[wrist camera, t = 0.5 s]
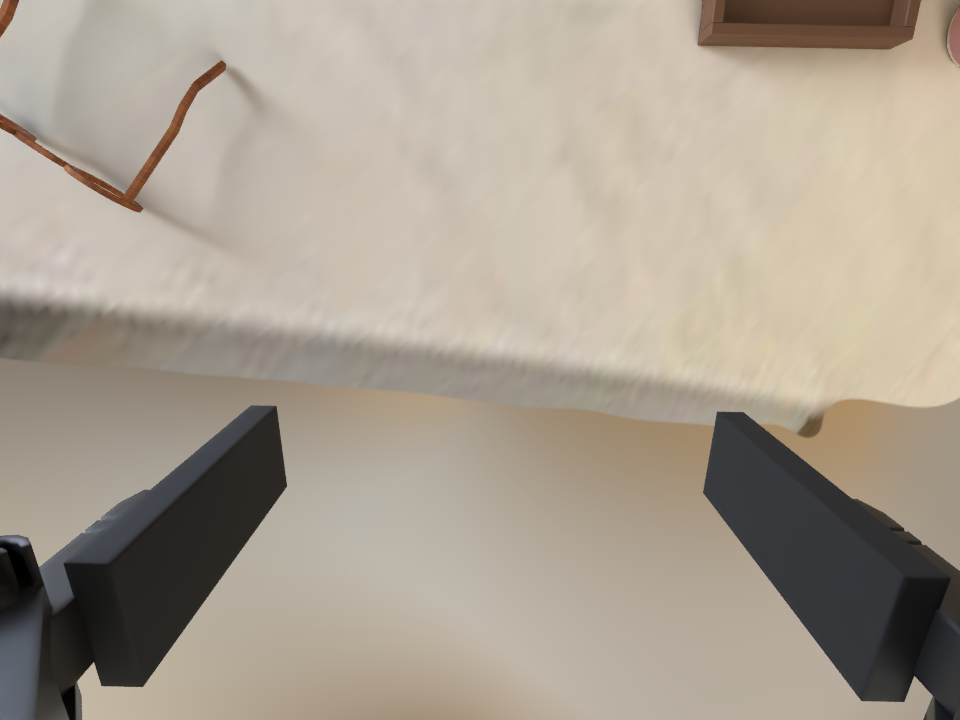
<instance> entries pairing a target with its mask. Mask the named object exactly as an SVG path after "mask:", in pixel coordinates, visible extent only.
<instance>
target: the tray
mask: <svg viewBox="0 0 960 720" xmlns="http://www.w3.org/2000/svg"><path fill="white" fill-rule="evenodd" d="M920 2H921V0H703V6H702V15H701V24H700V33H699V41H698V45H702V46H751V47H799V48H848V49H891V48H893V47H895V46H898V45H900V44H902V43H905V42H907V41H909V40H911V39H913V35H914V30H915V27H914V26H915V25H916V21H917V16H918V11H919V7H920Z"/></svg>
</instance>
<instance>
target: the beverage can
mask: <svg viewBox="0 0 960 720" xmlns="http://www.w3.org/2000/svg"><path fill="white" fill-rule="evenodd" d="M947 49H948V53H949V55H950V57H951V59H952V61H953V62H954V63H955V64H956V65H957V66H959V67H960V7H959V8H958V10H957V11H956V13H955V14H954V16H953V18H952V20H951V22H950V25H949V28H948V33H947Z"/></svg>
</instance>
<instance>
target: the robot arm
mask: <svg viewBox="0 0 960 720" xmlns="http://www.w3.org/2000/svg"><path fill="white" fill-rule="evenodd" d="M286 487H287V483H286V475H285V467H284V460H283V452H282V445H281V437H280V430H279V422H278V414H277V407H276V406H250V407H249V408H248V409H246V410H245V411H244V412H243V413H242V414H240V415H239V416H238V417H237V418H236V419H234V420H233V421H232V422H231V423H230V424H228V425H227V426H226V427H225V428H224V429H222V430H221V431H220V432H219V433H218V434H216V435H215V436H214V437H213V438H212V439H210V440H209V441H208V442H207V443H206V444H205V445H203V446H202V447H201V448H200V449H199V450H197V451H196V452H195V453H194V454H193V455H191V456H190V457H189V458H188V459H187V460H186V461H184V462H183V463H182V464H181V465H180V466H178V467H177V468H176V469H175V470H174V471H172V472H171V473H170V474H169V475H168V476H166V477H165V478H164V479H163V480H162V481H160V482H159V483H158V484H157V485H156V486H155V487H153V488H152V489H151V490H143V491H141V492H139V493H138V494H135V495H134V496H132V497H130V498H128V499H126V500H124V501H122V502H120V503H119V504H117V505H116V506H115V507H114V508H113V509H111V510H110V511H109V512H107V513H106V514H105V515H104V516H102V518H101V520H98V521H96V522H95V523H94V524H93V525H91V526H90V527H89V528H88V529H86V532H85V533H81V534H80V535H79V536H78V537H76V538H75V539H74V540H73V541H71V542H70V543H69V544H68V545H67V546H65V547H64V548H63V549H61V550H60V551H59V552H58V553H56V554H55V555H54V556H53V557H51V558H50V559H49V560H48V561H46V562H45V563H44V564H43V565H42V566H40V567H38V564H37V561H36V558H35V555H34V552H33V549H32V546H31V543H30V541H29V539H28V538H27V537H23V536H19V535H6V536H0V720H82V705H81V704H82V700H81V693H80V690H79V687H78V684H77V681H78V679H79V678H80V677H81V676H82V675H83V674H84V672H85V671H86V670H87V669H88V668H89V667H90V665H91V664H92V663H93V662H94V663H95V666H96V670H97V673H98V676H99V679H100V682H101V685H102V686H124V687H127V686H128V687H143V686H144V685H145V683H146V682H147V680H148V679H149V678H150V676H151V675H152V674H153V672H154V671H155V669H156V668H157V667H158V665H159V664H160V662H161V661H162V660H163V658H164V657H165V655H166V654H167V653H168V651H169V650H170V648H171V647H172V646H173V644H174V643H175V641H176V640H177V639H178V637H179V636H180V634H181V633H182V632H183V630H184V629H185V628H186V626H187V624H188V623H189V622H190V621H191V619H192V618H193V616H194V615H195V614H196V612H197V611H198V609H199V608H200V607H201V605H202V604H203V602H204V601H205V600H206V598H207V597H208V596H209V594H210V593H211V591H212V590H213V589H214V587H215V586H216V584H217V583H218V581H219V580H220V579H221V577H222V576H223V575H224V573H225V572H226V570H227V569H228V568H229V566H230V565H231V563H232V562H233V561H234V559H235V558H236V557H237V555H238V554H239V552H240V551H241V550H242V548H243V547H244V545H245V544H246V543H247V541H248V540H249V538H250V537H251V536H252V534H253V533H254V531H255V530H256V529H257V527H258V526H259V525H260V523H261V522H262V520H263V519H264V518H265V516H266V515H267V513H268V512H269V511H270V509H271V508H272V506H273V505H274V504H275V502H276V501H277V499H278V498H279V497H280V495H281V494H282V493H283V491H284V490H285V488H286ZM703 493H704V494H705V496H706V497H707V498H708V499H709V501H710V502H711V504H712V505H713V506H714V507H715V509H716V510H717V511H718V513H719V514H720V515H721V517H722V518H723V519H724V521H725V522H726V523H727V525H728V526H729V527H730V529H731V530H732V531H733V532H734V534H735V535H736V536H737V538H738V539H739V540H740V542H741V543H742V544H743V546H744V547H745V548H746V550H747V551H748V552H749V554H750V555H751V556H752V557H753V559H754V560H755V561H756V563H757V564H758V565H759V567H760V568H761V569H762V571H763V572H764V573H765V575H766V576H767V577H768V579H769V580H770V581H771V582H772V584H773V585H774V586H775V588H776V589H777V590H778V591H779V593H780V594H781V596H782V597H783V598H784V600H785V601H786V602H787V603H788V605H789V606H790V607H791V609H792V610H793V611H794V613H795V614H796V615H797V617H798V618H799V619H800V621H801V622H802V623H803V625H804V626H805V627H806V629H807V630H808V631H809V632H810V634H811V635H812V636H813V638H814V639H815V640H816V642H817V643H818V644H819V646H820V647H821V648H822V650H823V651H824V652H825V654H826V655H827V656H828V657H829V659H830V660H831V661H832V663H833V664H834V665H835V667H836V668H837V669H838V671H839V672H840V673H841V674H842V676H843V677H844V679H845V680H846V681H847V682H848V684H849V685H850V686H851V687H852V689H853V690H854V691H855V693H856V694H857V696H858V697H859V698H860V700H861V701H888V702H892V701H893V702H904V701H905V698H906V695H907V693H908V690H909V688H910V685H911V683H912V680H913V677H914V676H915V677H916V678H917V679H918V680H919V681H920V682H921V683H922V684H923V685H924V686H925V688H926V689H927V690H928V691H929V692H930V693H931V694H932V695H933V697H932V700H931V702H930V705H929V707H928V710H927V712H926V714H925V717H924V719H923V720H960V571H959V570H957V569H956V568H955V567H953V566H952V565H951V564H950V563H948V562H947V561H946V560H944V559H943V558H942V557H940V556H939V555H938V554H936V553H935V552H934V551H932V550H931V549H930V548H929V547H927V546H926V545H922V544H921V541H920V540H918V539H917V538H916V537H914V536H913V535H912V534H911V533H909V532H905V531H904V528H903V527H901V526H900V525H899V524H898V523H896V522H895V521H894V520H892V519H891V518H890V517H888V516H887V515H886V514H885V513H883V512H881V511H879V510H877V509H875V508H873V507H871V506H869V505H867V504H866V503H864V502H862V501H860V500H858V499H852V498H850V497H849V496H848V495H846V494H845V493H844V492H843V491H841V490H840V489H839V488H838V487H836V486H835V485H834V484H833V483H831V482H830V481H829V480H828V479H826V478H825V477H824V476H823V475H821V474H820V473H819V472H818V471H816V470H815V469H814V468H812V467H811V466H810V465H809V464H808V463H806V462H805V461H804V460H803V459H801V458H800V457H799V456H798V455H796V454H795V453H794V452H793V451H791V450H790V449H789V448H787V447H786V446H785V445H784V444H783V443H781V442H780V441H779V440H777V439H776V438H775V437H774V436H772V435H771V434H770V433H769V432H767V431H766V430H765V429H764V428H762V427H761V426H760V425H759V424H757V423H756V422H755V421H754V420H752V419H751V418H750V417H749V416H747V415H746V414H745V413H744V412H717V416H716V422H715V427H714V433H713V439H712V445H711V450H710V456H709V462H708V468H707V473H706V479H705V485H704V491H703Z"/></svg>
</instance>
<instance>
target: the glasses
mask: <svg viewBox="0 0 960 720" xmlns="http://www.w3.org/2000/svg"><path fill="white" fill-rule="evenodd" d="M18 2H19V0H4V1H3V3H2V6H1V9H0V37H1V36H2V34H3V33H4V31H5V30H6V28H7V27H8V25H9V24H10V22H11V21H12V19H13V16H14V13H15V10H16V7H17V4H18ZM225 69H226V64H225V63H224V62H223V61H222V60H221V61H220V62H219V63H218V64H216V65H215V66H214V67H212V68H211V69H210V70H208V71H207V72H206V73H204V74H203V75H202V76H201V77H199V78H198V79H197V80H195V81H194V82H193V84H192V85H191V87H190V88H189V90H188V91H187V93H186V94H185V96H184V98H183V99H182V101H181V102H180V104H179V106H178V108H177V111H176V113H175V115H174V118H173V120H172V122H171V125H170V127H169V129H168V130H167V132H166V133H165V135H164V136H163V138H162V139H161V141H160V142H159V144H158V145H157V147H156V148H155V150H154V151H153V153H152V154H151V156H150V157H149V159H148V160H147V162H146V163H145V165H144V166H143V168H142V169H141V171H140V172H139V174H138V175H137V177H136V178H135V180H134V181H133V183H132V184H131V186H130V187H129V189H128V190H127V191H126V193H125V194H124V193H122V192H121V191H119V190H117V189H116V188H114V187H112V186H111V185H109V184H107V183H106V182H104V181H102V180H100V179H98V178H96V177H95V176H93V175H91V174H89V173H87V172H85V171H82V170H80V169H78V168H76V167H74V166H72V165H70V164H68V163H67V162H65V161H63V160H62V159H60V158H58V157H57V156H55V155H54V154H52V153H51V152H49V151H48V150H46V149H44V148H43V147H41V146H40V145H38V144H37V143H35V140H36V139H37V138H36V137H35V136H33V135H32V134H31V133H29V132H28V131H26V130H25V129H23V128H22V127H20V126H19V125H17V124H16V123H14V122H12V121H11V120H9V119H8V118H6V117H4V116H3V115H1V114H0V128H1V129H3V130H5V131H7V132H9V133H11V134H13V135H14V136H15V137H16V138H18V139H19V140H20V141H22V142H24V143H25V144H27V145H28V146H30V147H31V148H33V149H34V150H36V151H37V152H39V153H41V154H42V155H44V156H45V157H47V158H48V159H50V160H52V161H53V162H55V163H57V164H58V165H60V166H62V167H64V170H65V171H66V172H67V173H69V174H70V175H71V176H73V177H74V178H76V179H77V180H79V181H80V182H82V183H83V184H85V185H86V186H88V187H89V188H91V189H93V190H94V191H96V192H98V193H100V194H101V195H103V196H105V197H107V198H108V199H110V200H112V201H114V202H116V203H118V204H120V205H122V206H124V207H126V208H128V209H131V210H133V211H136V212H141V211H142V210H143V207H142V206H141V205H140V204H138V203H137V202H136V201H134V199H135V197H136V196H137V194H138V193H139V191H140V190H141V188H142V187H143V185H144V184H145V182H146V181H147V179H148V178H149V176H150V175H151V173H152V172H153V170H154V169H155V167H156V166H157V164H158V163H159V161H160V160H161V158H162V157H163V155H164V154H165V152H166V151H167V149H168V148H169V146H170V145H171V143H172V142H173V140H174V139H175V137H176V136H177V134H178V133H179V130H180V128H181V125H182V123H183V120H184V117H185V115H186V112H187V110H188V109H189V107H190V105H191V103H192V102H193V100H194V98H195V96H196V94H197V93H198V91H199V90H201V89H202V88H203V87H205V86H206V85H207V84H208V83H210V82H211V81H212V80H213V79H215V78H216V77H217V76H219V75H220V74H221V73H222V72H224V71H225ZM1 121H2V122H1ZM93 182H94V183H93ZM95 183H96V184H98V185H100V186H101V187H103V188H105V189H107V190H108V191H110V192H112V193H113V194H112V193H110V192H108V191H107V190H105V189H103V188H101V187H100V186H98V185H96V184H95ZM114 194H115V195H114ZM116 195H117V196H118V197H117V196H116ZM119 197H120V198H119Z"/></svg>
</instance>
